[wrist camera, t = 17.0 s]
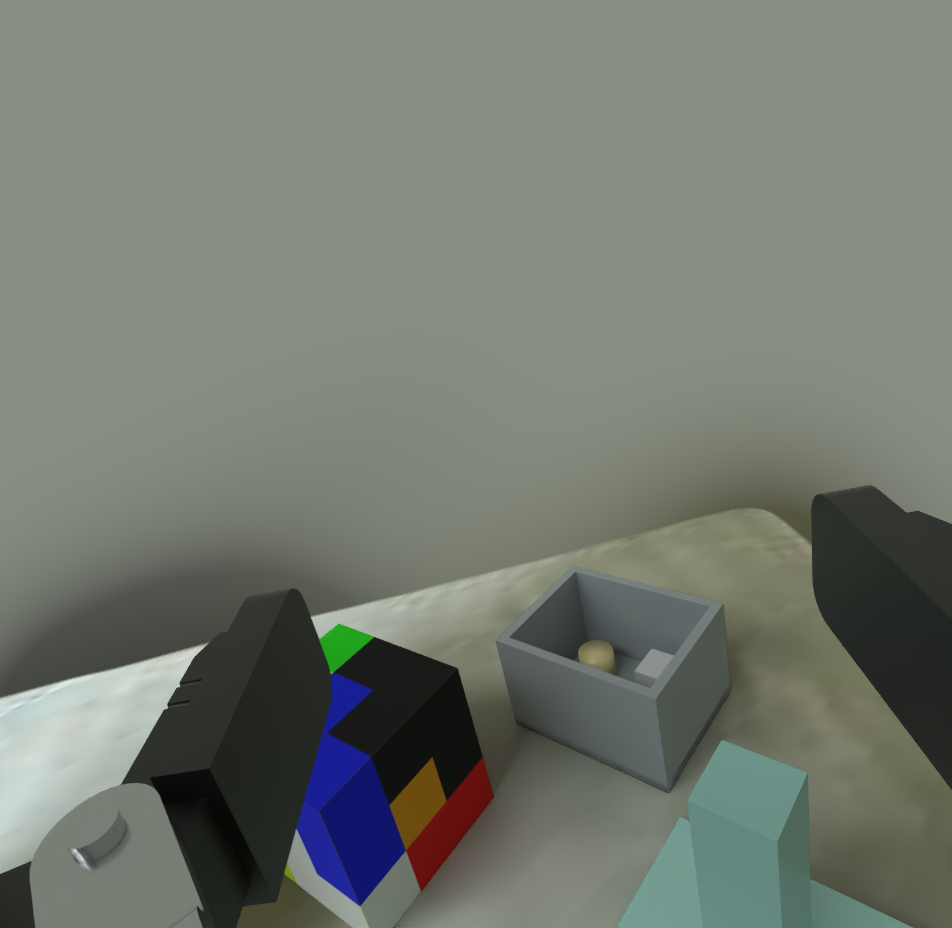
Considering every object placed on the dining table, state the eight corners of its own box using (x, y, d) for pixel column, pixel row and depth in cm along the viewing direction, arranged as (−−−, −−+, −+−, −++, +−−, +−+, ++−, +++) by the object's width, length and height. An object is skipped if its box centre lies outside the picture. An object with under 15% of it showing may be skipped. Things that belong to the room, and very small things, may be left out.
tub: (516, 722, 46) (495, 640, 43) (586, 642, 52) (572, 565, 49) (668, 793, 39) (655, 699, 36) (730, 690, 45) (723, 603, 42)
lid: (583, 1003, 30) (536, 816, 26) (681, 829, 37) (658, 654, 32) (892, 1232, 23) (906, 1024, 18) (948, 960, 29) (969, 754, 24)
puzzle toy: (378, 949, 34) (318, 810, 30) (263, 858, 41) (202, 733, 37) (494, 797, 41) (457, 668, 37) (380, 739, 47) (338, 623, 44)
